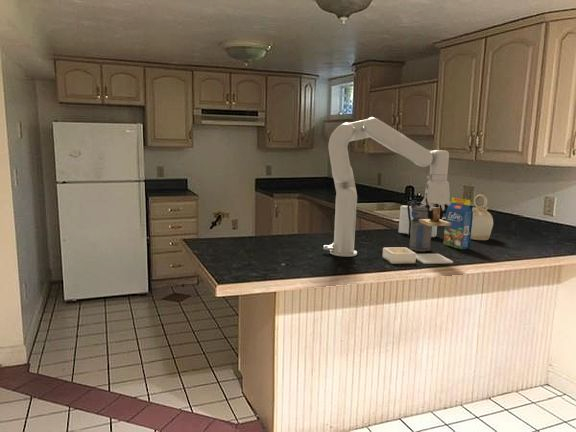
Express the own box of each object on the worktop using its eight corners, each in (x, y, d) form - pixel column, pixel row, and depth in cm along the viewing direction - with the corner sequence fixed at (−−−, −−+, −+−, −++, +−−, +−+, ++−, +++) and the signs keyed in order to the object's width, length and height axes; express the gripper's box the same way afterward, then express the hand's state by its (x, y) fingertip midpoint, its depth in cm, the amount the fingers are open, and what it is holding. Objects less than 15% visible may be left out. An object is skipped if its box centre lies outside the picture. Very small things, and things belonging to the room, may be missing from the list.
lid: (429, 225, 203) (430, 209, 202) (418, 221, 213) (419, 206, 212) (451, 225, 205) (452, 209, 204) (439, 221, 215) (440, 206, 214)
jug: (478, 234, 273) (482, 192, 269) (497, 240, 259) (502, 196, 254) (456, 235, 268) (460, 192, 264) (475, 241, 254) (479, 196, 250)
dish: (391, 263, 203) (392, 253, 202) (382, 257, 213) (383, 247, 212) (415, 263, 204) (416, 253, 204) (404, 256, 215) (405, 247, 214)
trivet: (423, 263, 204) (423, 261, 204) (410, 255, 218) (410, 253, 218) (453, 263, 206) (453, 261, 206) (437, 255, 220) (438, 253, 220)
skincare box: (436, 236, 266) (439, 208, 263) (434, 237, 261) (436, 209, 258) (401, 231, 277) (403, 204, 274) (397, 232, 272) (399, 205, 269)
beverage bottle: (405, 246, 237) (409, 197, 233) (432, 249, 232) (436, 199, 228) (402, 250, 227) (406, 199, 223) (431, 253, 223) (435, 202, 219)
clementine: (396, 259, 207) (397, 252, 206) (393, 257, 210) (394, 250, 209) (403, 259, 207) (404, 252, 207) (400, 257, 211) (401, 250, 210)
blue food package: (451, 243, 247) (455, 197, 242) (469, 248, 236) (474, 200, 232) (442, 244, 244) (447, 197, 239) (461, 249, 233) (465, 200, 229)
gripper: (424, 178, 201) (421, 220, 204) (460, 179, 204) (456, 220, 207) (416, 177, 208) (413, 217, 211) (451, 177, 211) (447, 217, 214)
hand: (434, 218), depth 209 cm, fingers closed on lid, 4 cm apart
